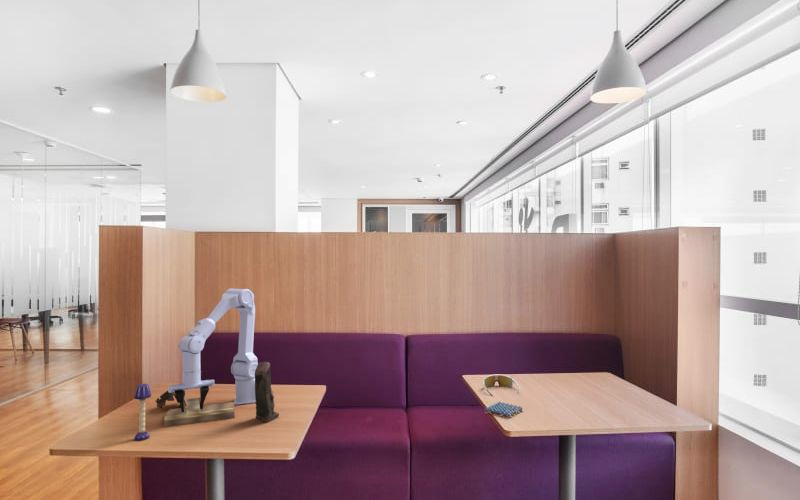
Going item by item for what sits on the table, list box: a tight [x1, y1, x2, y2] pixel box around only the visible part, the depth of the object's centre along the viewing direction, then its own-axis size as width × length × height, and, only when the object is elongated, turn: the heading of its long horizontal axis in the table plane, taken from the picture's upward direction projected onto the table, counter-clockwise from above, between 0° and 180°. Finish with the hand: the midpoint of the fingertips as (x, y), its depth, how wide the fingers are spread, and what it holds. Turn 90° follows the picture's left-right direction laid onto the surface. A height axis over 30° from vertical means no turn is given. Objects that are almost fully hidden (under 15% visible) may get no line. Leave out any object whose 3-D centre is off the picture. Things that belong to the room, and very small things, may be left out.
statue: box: [255, 361, 280, 423], centre depth 159 cm, size 7×7×20 cm
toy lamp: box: [133, 383, 152, 441], centre depth 144 cm, size 5×5×17 cm
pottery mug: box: [155, 390, 187, 409], centre depth 173 cm, size 12×10×8 cm
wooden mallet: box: [185, 397, 200, 414], centre depth 162 cm, size 4×10×5 cm, turn 20°
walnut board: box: [164, 401, 236, 427], centre depth 163 cm, size 22×12×4 cm, turn 110°
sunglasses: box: [482, 373, 521, 397], centre depth 187 cm, size 14×15×5 cm
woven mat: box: [483, 401, 524, 420], centre depth 162 cm, size 10×11×2 cm
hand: (192, 409), depth 159 cm, fingers open, 5 cm apart
